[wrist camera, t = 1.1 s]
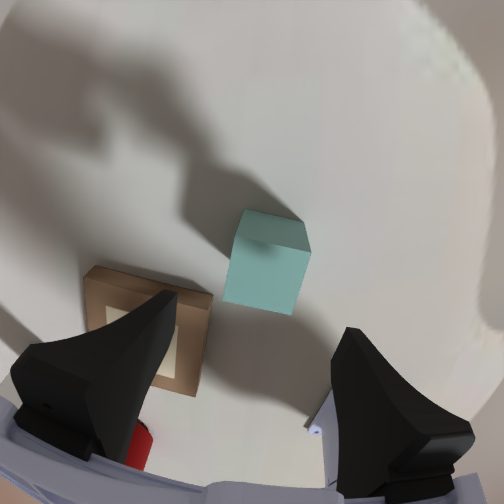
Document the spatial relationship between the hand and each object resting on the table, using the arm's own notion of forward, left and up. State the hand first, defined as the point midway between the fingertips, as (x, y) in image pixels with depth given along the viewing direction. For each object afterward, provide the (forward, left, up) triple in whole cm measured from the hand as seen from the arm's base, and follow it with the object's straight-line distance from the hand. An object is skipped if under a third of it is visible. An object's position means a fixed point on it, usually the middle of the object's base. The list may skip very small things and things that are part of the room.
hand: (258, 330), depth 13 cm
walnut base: (+8, +10, -9) cm, 16 cm away
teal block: (0, 0, -10) cm, 10 cm away
